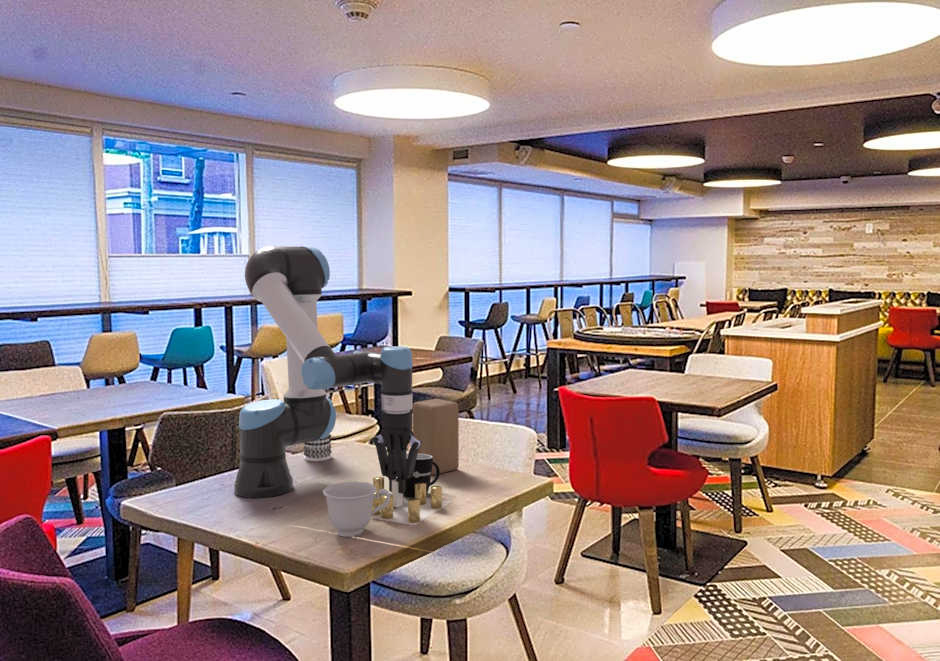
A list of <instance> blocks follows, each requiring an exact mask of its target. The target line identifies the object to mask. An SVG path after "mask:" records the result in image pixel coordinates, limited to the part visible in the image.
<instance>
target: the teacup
mask: <svg viewBox="0 0 940 661" xmlns="http://www.w3.org/2000/svg"><path fill="white" fill-rule="evenodd" d="M376 491H377V488H376V487H375V486H374V485H373V483H369V482H366V481H365V482H364V481H342V482H338V483H334V484H333V483H332V484H330V485H328V486H326V487H325V488H324V489H323V490H322V494H323V495H324V496H325V498H326V504H327V511H328V517H329V518H328V519H329V521H330V523H331V525H332V527H333V528H335V529H337V535H339V536H341V537H345V538H353V537H355V536H357V535H360V534H362V533H364V528H365V527H366V526H368V525H369V523H370V521H371V519H372V518H371V517H372V515H373V514H374V513H375V512H376V511H378V510H381V509H383V508H385V507H386V506H387V505H388V504H389V502H390V494H389V492H390V491H389V490H388V489H386V488H384V489H380V490H378V492H377V496H376V494H374V493H375V492H376ZM380 494H385V495H386V497H387V498H386V501H385V502H384V503H383V504H382V505H380V506H378V507H376V508H375V509H374V510H373V511H372V505H373V498H375V499H378V498H379V495H380Z"/></svg>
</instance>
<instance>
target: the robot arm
mask: <svg viewBox="0 0 940 661" xmlns="http://www.w3.org/2000/svg"><path fill="white" fill-rule="evenodd" d="M330 275H331V272H330V266H329V261H328V260H327V258H326V256H325V255H324V254H323V252H322V251H321V250H320V249H318V248H316V247H309V246H304V245H303V246H302V245H301V246H276V245H273V246H272V245H270V246H264V247H261V248H259V249H258V250H256V251H255V252H254V253H253V254H251V256H250V257H249V259H248V260H247V262H246V266H245V268H244V278H245V279H244V280H245V284H246V287H247V289H248V291H249V293H250V294H251V295H252V297H253V298H254V300H256V301H258V302H261V303H262V304H263V306H264V307H265V309H266V311H267V312H268V313H269V315H270V316H271V318H272V319H273V321H274V322H275V323H276V325H277V327H278V328H279V329H280V331H281V332H282V333H283V335H284V336H285V339H286V358H287V359H286V360H287V376H288V377H287V378H288V380H287V381H288V389H287V391H286V392H285V393H284V394H283V400H282V399H275V398H270V399H261V400H257V401H254V402H251V403H248V404H246V405H244V406H243V407H242V408H241V410H240V411H239V418H238V419H239V420H238V421H239V422H238V428H239V450H240V451H239V454H240V455H239V456H240V464H239V467H238V470H237V475H236V476H235V477H236V478H235V480H234V483H233V484H234V486H233V487H234V494H236V495H238V496H240V497H245V498H255V499H256V498H269V497H275V496H280V495H283V494H286V493H289V492H291V491H292V490H293V488H294V480H293V476H292V475H291V471H290V467H289V465H288V463H287V457H286V456H287V455H286V447H291V446H296V445H301V444H304V443H306V442H314V441H317V440H319V439H323V438H325V437H327V436H328V435H329V434H330V435H331V433H332V432H333V430H334V428H335V425H336V422H337V421H336V420H337V411H336V407H335V406H334V403H333V401H332V400H330V399H329V397H328V398H326V392H325V391H324V390H323V389H329V390H330V389H332V388H339V387H344V386H345V387H346V386H353V385H354V386H355V385H358V384H359V385H360V384H365V383H372V384H378V385H380V386H381V389H380V393H381V394H380V397H381V400H380V401H381V410H382V412H381V413H380V414H381V416H380V417H381V418H380V420H381V427H382V428H381V430H380V434H378V435H376V436H373V437H372V442H373V444H374V446H375V448H376V453H377V458H378V462H379V467H380V468H379V469H380V471H381V475H382V477H385V478H386V477H387V478H388V492H392V496H393V507H399V506H401V505H402V504H403V493H404V492H405V490H406V482H405V481H406V479H408V478H410V477H412V476H413V472H414V468H415V463H416V459H417V454H418V450H419V448H420V446H421V445H422V441H421V440H419V441H418V440H417V439H416V438H414V437H413V436H414V435H413V367H414V363H413V353H412V349H411V348H410V347H408V346H397V345H396V346H395V345H393V346H384V347H382V349H381V350H380V352H375V351H369V350H356V351H353V352H352V353H348V354H339V355H338V354H336V353H335V351H334V350H333V349H332V348H331V346H330V345H329V344H328V342H327V340H326V339H325V338H324V336H323V334H321V332H320V331H319V329H318V326H319V325H318V310H317V301H318V300H319V299H320V298H321V296H322V295H323V292H322V289H323V288H325V287H326V286H327V285H328V283H329V281H330V277H331V276H330ZM408 445H409V447H410V448H409V451H408ZM407 451H408V453H409V454H408V453H407ZM406 454H408V459H407V463H406Z"/></svg>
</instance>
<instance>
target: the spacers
mask: <svg viewBox="0 0 940 661" xmlns="http://www.w3.org/2000/svg"><path fill="white" fill-rule="evenodd" d="M372 485H374V486H375V487H376V488H377V491H376V492H375V493H374V494H376V496H377V492H378V490H380V489H385V476H375V477H373V478H372ZM386 498H387V497H386V495H383V496H381V494H380V495H379V498H378V499H375V498H373V505H372V511H373V510H374V509H375V508H376V507H378V506H380V505H382V504H383V503H384V502H385V501H386ZM426 498H427V495H426V483H425V482H417V483H415V498H411V499H408V522H410V523H417V522H419V523H421V522H420V505H424V504H426ZM430 498H431V508H433V509H440V508H441V509H442V500H443V487H442V486H441V485H431V486H430ZM403 501H404V496H403ZM441 509H440V510H441ZM380 514H381V518H383V519H391V518H393V496H392V495H390V502H389V504H388V505H387V506H386V507H385V508H383V509H381V510H378V511H376V512H375V513H374V514H373V515H380ZM417 524H418V523H417Z"/></svg>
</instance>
